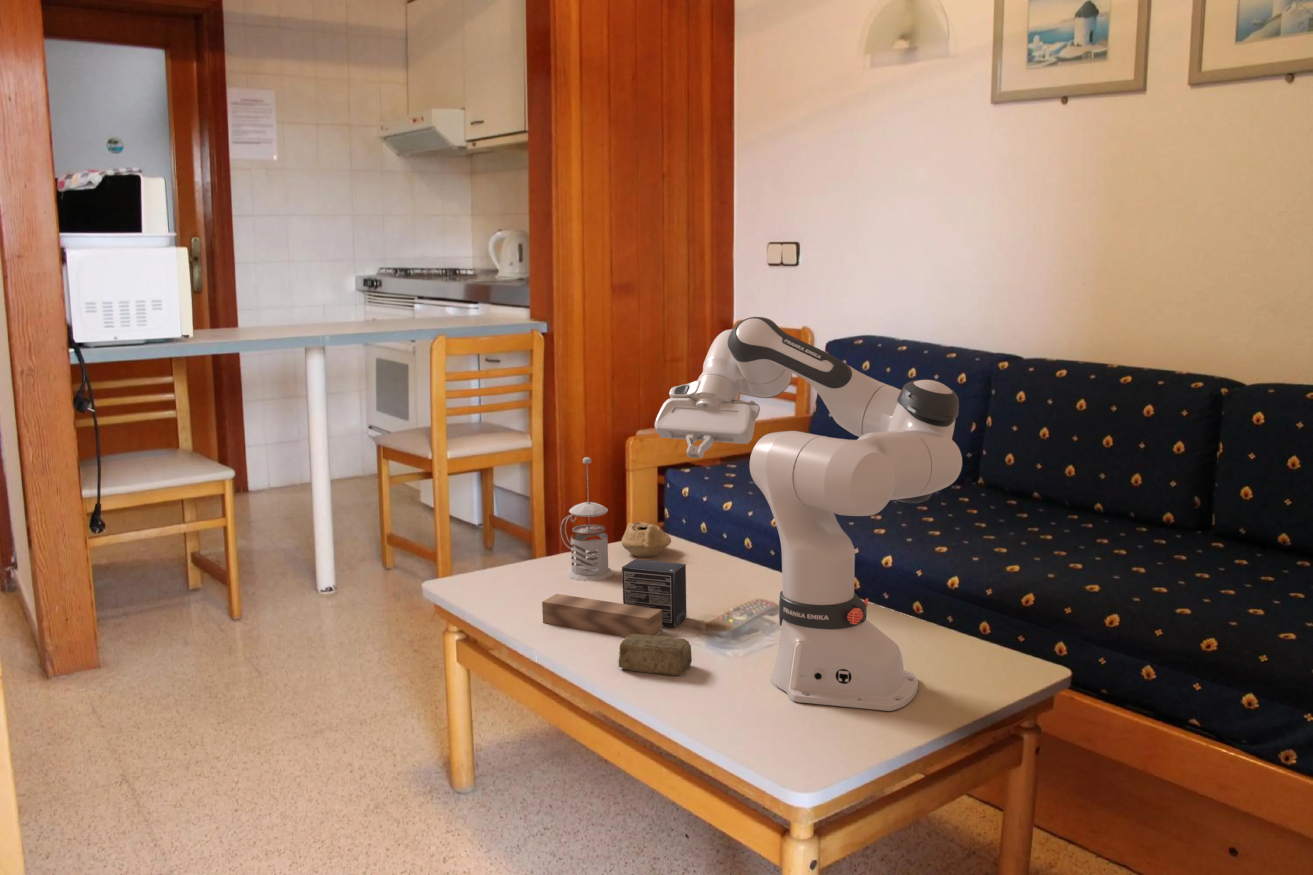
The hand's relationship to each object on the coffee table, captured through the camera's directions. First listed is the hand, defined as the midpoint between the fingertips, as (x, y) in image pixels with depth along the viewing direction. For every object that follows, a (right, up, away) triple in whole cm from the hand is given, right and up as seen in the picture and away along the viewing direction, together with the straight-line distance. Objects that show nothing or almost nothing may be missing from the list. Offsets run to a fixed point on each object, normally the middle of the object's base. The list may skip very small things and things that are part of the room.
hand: (693, 456), depth 209 cm
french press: (-22, -25, +18) cm, 38 cm away
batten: (-17, -31, -14) cm, 38 cm away
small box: (-7, -30, -11) cm, 33 cm away
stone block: (-8, -34, -33) cm, 48 cm away
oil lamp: (-10, -22, +32) cm, 40 cm away
